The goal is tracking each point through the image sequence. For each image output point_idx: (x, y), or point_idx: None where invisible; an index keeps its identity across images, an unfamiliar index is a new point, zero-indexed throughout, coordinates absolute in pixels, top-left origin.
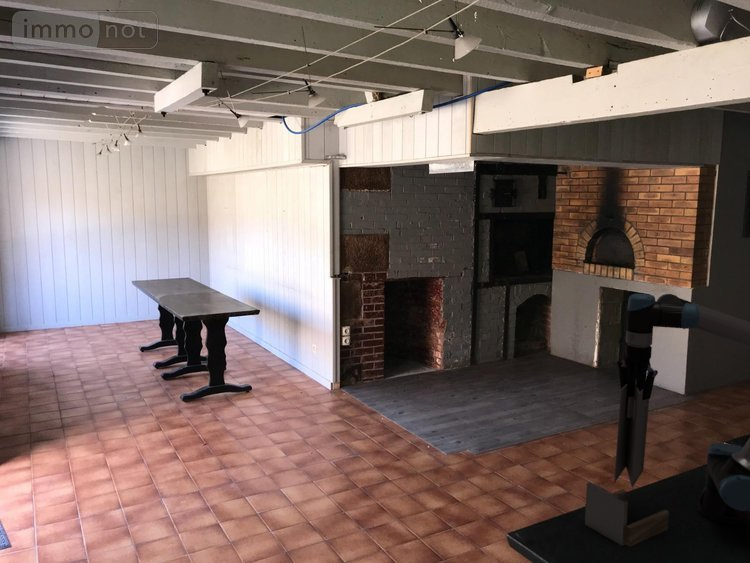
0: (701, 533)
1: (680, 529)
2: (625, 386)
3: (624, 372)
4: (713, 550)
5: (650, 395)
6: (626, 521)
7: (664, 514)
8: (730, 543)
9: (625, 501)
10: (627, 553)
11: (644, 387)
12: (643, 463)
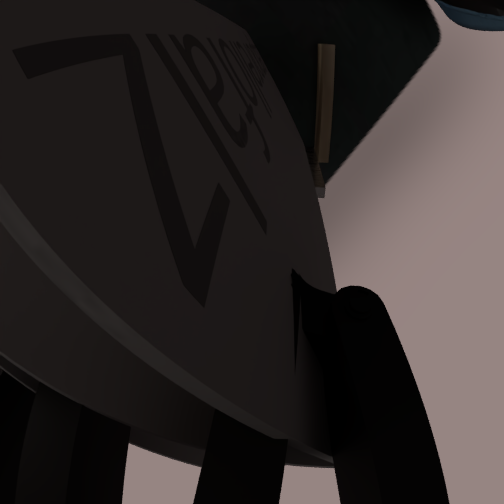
0: (370, 12)
1: (340, 26)
2: (156, 447)
3: (2, 485)
4: (411, 52)
5: (395, 339)
6: (319, 167)
7: (334, 59)
8: (415, 11)
9: (323, 193)
10: (331, 166)
11: (346, 483)
12: (247, 35)
